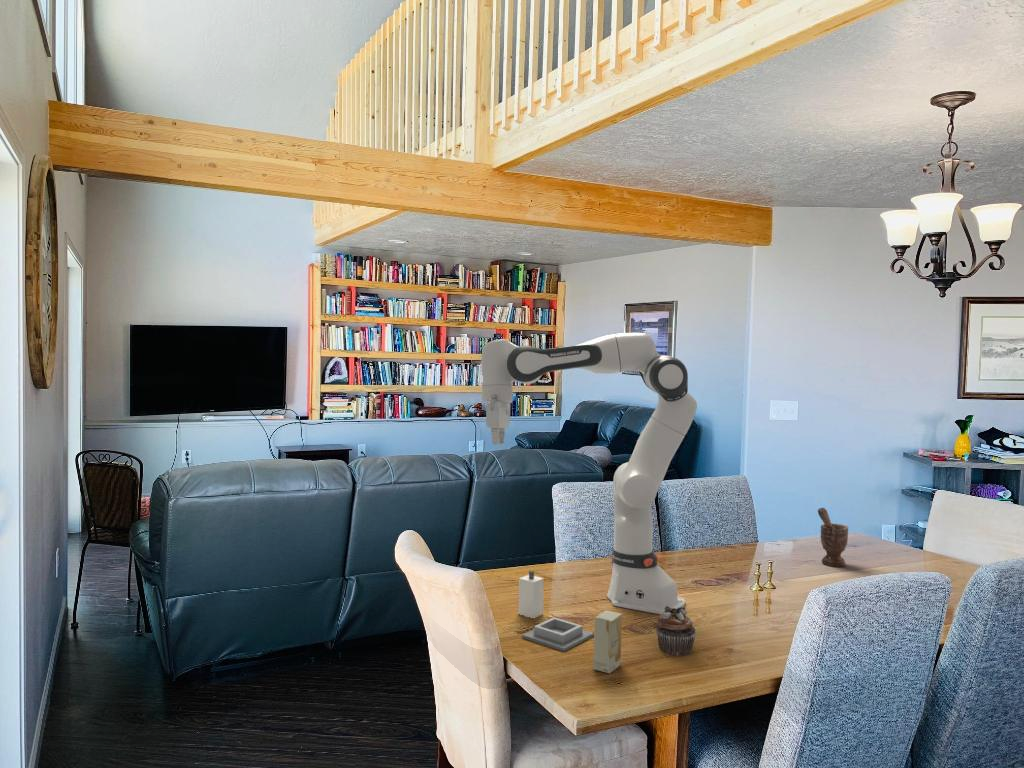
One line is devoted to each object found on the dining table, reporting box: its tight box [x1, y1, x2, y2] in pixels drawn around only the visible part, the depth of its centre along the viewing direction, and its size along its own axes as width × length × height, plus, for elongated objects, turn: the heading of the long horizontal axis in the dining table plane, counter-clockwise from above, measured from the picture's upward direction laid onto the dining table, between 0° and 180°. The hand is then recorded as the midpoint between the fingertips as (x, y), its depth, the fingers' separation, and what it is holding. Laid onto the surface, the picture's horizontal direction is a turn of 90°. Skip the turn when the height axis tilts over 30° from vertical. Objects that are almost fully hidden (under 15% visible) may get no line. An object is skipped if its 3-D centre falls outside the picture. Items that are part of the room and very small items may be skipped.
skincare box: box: [592, 610, 623, 674], centre depth 176 cm, size 6×4×12 cm
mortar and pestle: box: [817, 507, 849, 568], centre depth 259 cm, size 12×9×20 cm
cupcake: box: [655, 606, 697, 656], centre depth 187 cm, size 10×10×10 cm
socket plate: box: [521, 617, 594, 652], centre depth 194 cm, size 13×13×3 cm
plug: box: [518, 569, 545, 619], centre depth 209 cm, size 5×4×12 cm
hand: (498, 444), depth 219 cm, fingers open, 8 cm apart
